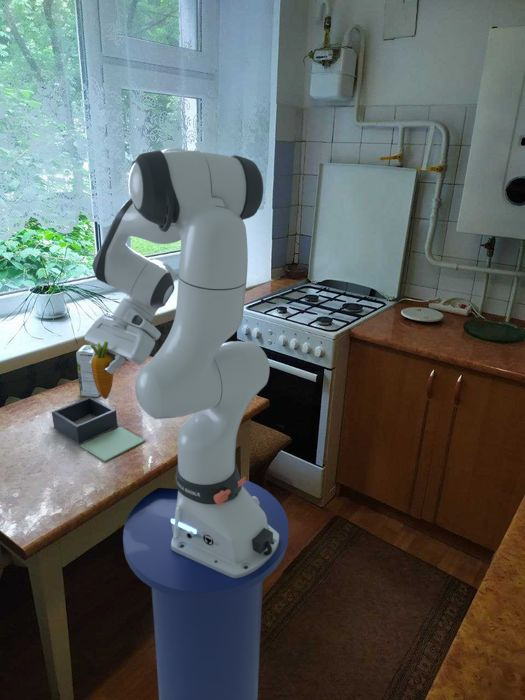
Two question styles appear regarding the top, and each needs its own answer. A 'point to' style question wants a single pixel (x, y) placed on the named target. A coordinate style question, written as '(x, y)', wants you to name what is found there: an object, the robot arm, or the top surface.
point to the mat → (112, 443)
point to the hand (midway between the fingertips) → (100, 368)
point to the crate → (90, 428)
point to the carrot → (102, 370)
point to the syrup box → (86, 372)
